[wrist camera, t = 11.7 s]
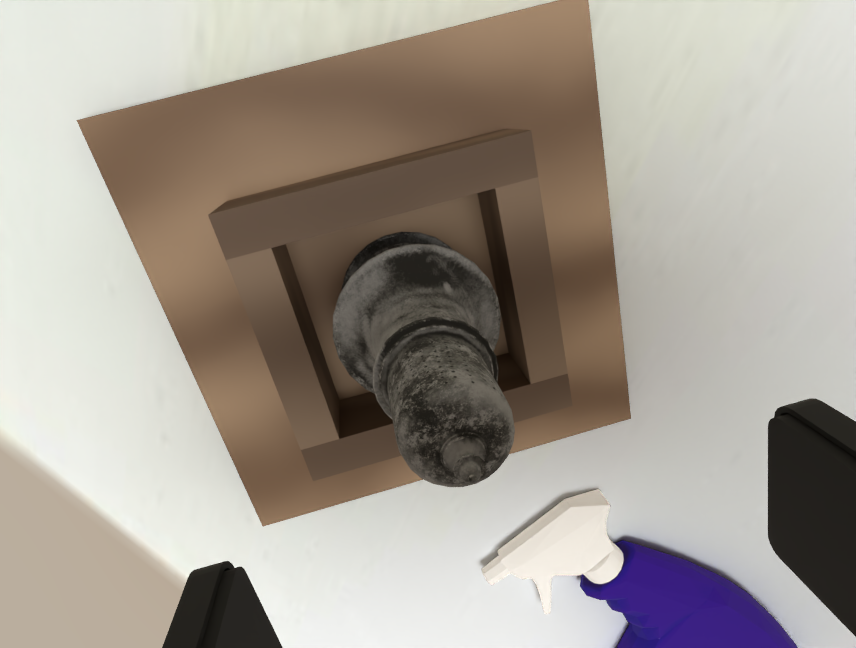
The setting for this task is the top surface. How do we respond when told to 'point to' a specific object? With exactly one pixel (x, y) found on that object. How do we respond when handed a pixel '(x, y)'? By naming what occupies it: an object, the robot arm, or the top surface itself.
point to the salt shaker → (427, 354)
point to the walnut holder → (376, 235)
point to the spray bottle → (636, 582)
